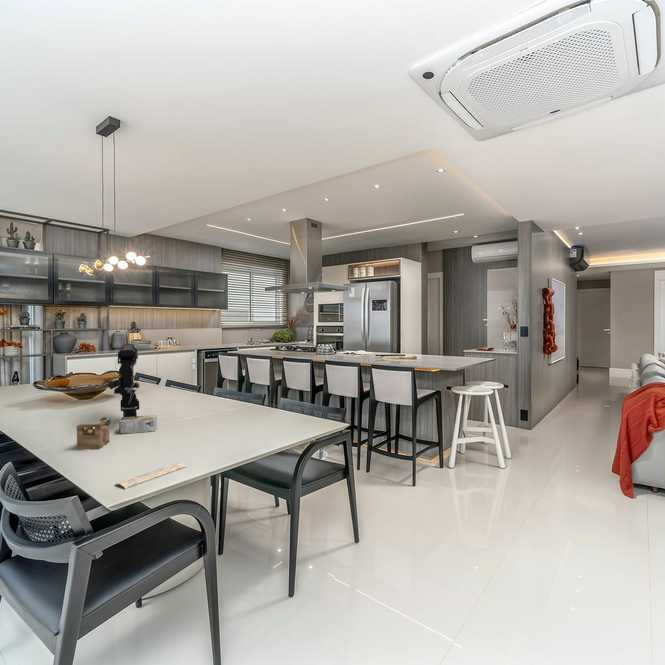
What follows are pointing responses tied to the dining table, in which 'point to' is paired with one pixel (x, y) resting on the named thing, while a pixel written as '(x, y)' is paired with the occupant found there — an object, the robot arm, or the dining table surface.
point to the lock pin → (104, 421)
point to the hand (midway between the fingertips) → (127, 404)
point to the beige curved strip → (151, 475)
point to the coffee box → (137, 424)
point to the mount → (92, 436)
